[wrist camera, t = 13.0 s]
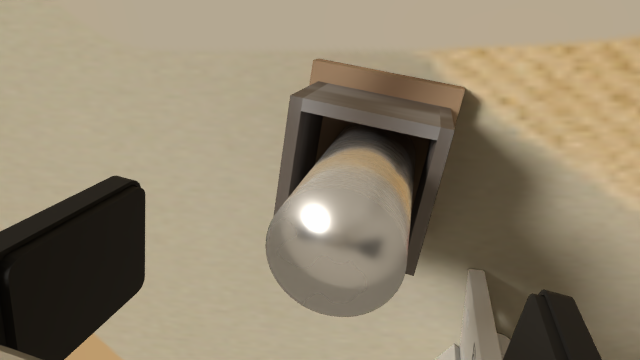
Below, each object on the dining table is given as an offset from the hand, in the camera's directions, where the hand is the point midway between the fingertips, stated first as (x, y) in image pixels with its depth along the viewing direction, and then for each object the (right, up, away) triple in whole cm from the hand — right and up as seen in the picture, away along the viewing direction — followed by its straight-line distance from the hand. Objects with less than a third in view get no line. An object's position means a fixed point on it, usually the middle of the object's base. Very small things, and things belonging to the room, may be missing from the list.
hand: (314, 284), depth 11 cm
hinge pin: (+3, +4, +11) cm, 12 cm away
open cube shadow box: (+3, +4, +12) cm, 13 cm away
